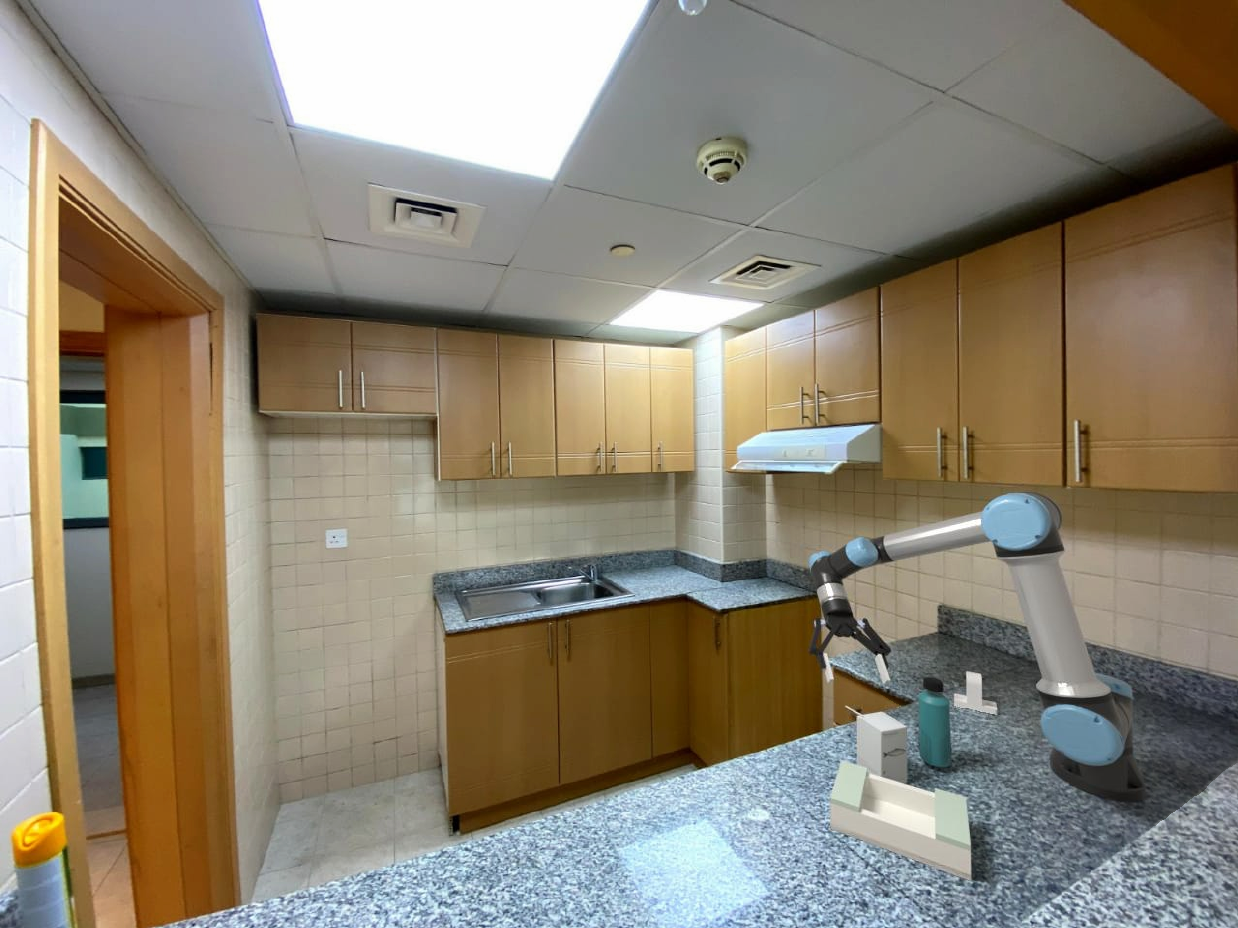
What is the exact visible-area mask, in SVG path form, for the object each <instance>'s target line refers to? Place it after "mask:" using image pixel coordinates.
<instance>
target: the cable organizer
mask: <svg viewBox="0 0 1238 928" xmlns="http://www.w3.org/2000/svg"><path fill="white" fill-rule="evenodd" d="M965 674H966V679H965V681H966V682H965V683H966V685H965V686H966V695H965V694H961V693H960V694H959V693H954V694H953V705H954V706H953V707H955V706H956V707H955V708H957V707H960V708H959V709H961V708H969V709H973V710H977V711H980V712H986V713H990V714H995V715H997V716H998V706H997V705H998V704H997V703H996V702H995V701H992V700H987V699H983V682H982V681H983V680H982V674H981V673H979V672H973V671H968V670H966V673H965Z"/></svg>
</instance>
